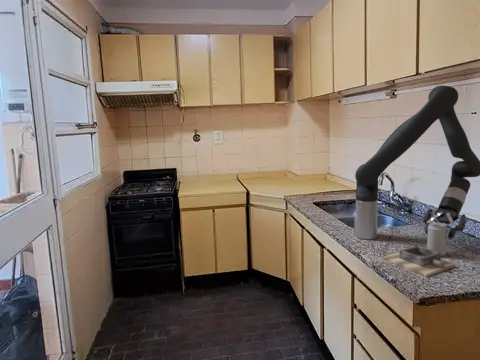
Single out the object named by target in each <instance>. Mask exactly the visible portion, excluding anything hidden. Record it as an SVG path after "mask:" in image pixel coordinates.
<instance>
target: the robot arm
mask: <svg viewBox="0 0 480 360" xmlns="http://www.w3.org/2000/svg"><path fill="white" fill-rule="evenodd" d="M427 100H428V101H427V102H426V103H425V104H424V105H423V107H422V108H421V109H419V111H417V113H415V114H413V115H412V116H411V117H409V118H408V119H406V120H405V121H403V123H401V124H400V125H399V126H398V127H396V129H394V131H393V132H392V133H391V134H390V135H389V136H388V137H387V138H386V140H385V141H384V142H383V143H382V145H381V146H380V148H379V149H378V151H376V153H375V154H374V155H373V156H372V157H371V158H369V159H368V160H367V161H366V162H365V163H362V164H361V165H359V167H358V168H357V169H356V171H355V174H354V177H355V180H356V187H355V188H356V191H355V214H354V216H353V218H354V221H353V222H354V223H353V224H354V225H353V226H354V231H353V232H354V236H355V237H356V238H357V239H361V240H375V239H377V238H378V221H379V220H378V213H379V212H378V208H379V207H378V206H379V205H378V203H379V202H378V201H379V177H380V176H381V175H382V174H383V173H384V172H385V170H387V168H388V167H389V166H390V165H391V164H392V163H393V162H394V161H395V162H396V160H397V159H398V158H400V157H401V156H402V155H403V154H405V153H406V151H408V150H409V149H410V148H411V147H412V146H413V145H414V144H416V142H417V141H418V140H419V139H420V138H421V137H422V136H423V135H424V134H425V133H426V131H427V130H429V128H430V127H431V126H432V125H433V124H434V123H435V122H436V121H437V120H439V123H440V124H441V127H442V130H443V134H444V136H445V140H446V143H447V145H448V148H449V151H450V154H451V156H452V157H453V158H456V159H461V160H459V161H456V162H454V164H453V165H452V167H451V174H450V175H451V176H450V182H449V184H448V187H447V189H446V190H445V191H444V194H443V196H442V198H441V201H440V202H439V204H438V207H437V209H436V210H432V209H431V208H428V210H426V211H427V212H425V215H424V217H423V218H422V221H423V223H424V224H425V227H424V229H423V230H424V233H425V235H428V226H429V223H434V222H436V223H443V224H445V225H451V227H452V228H451V227H450V230H449V231H448V233H447V238H448V239H449V240H452V239H454V237H455V236H456V234H457V232H459V231H460V232H463V231H464V229H465V226H466V223H467V220H468V218H467V216H466V214H460V213H461V211H462V208H463V206H464V204H465V201H466V198H467V195H468V193H469V191H470V188H471V182H470V181H469V179H467V178H478V177H479V176H480V159H479V157H477V155H476V154H475V152H474V151H473V150H472V148H471V145H470V141H469V139H468V136H467V134H466V131H465V130H464V127H463V126H462V125H461V123H460V121H459V119H458V116H457V113H456V111H455V106H456V104H457V102H458V100H459V91H458V90H457V89H456V88H455V87H453V86H450V85H438V86H436V87H433V89H431V90H430V91H429V93H428V99H427ZM457 220H459V222H458V225H456V223H455V221H457Z"/></svg>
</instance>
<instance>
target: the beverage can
mask: <svg viewBox="0 0 480 360" xmlns="http://www.w3.org/2000/svg"><path fill="white" fill-rule="evenodd" d="M447 238H448V228H447V224H445V223H440V222H439V223H436V222H434V223H429V226H428V234H427V242H426V244H427V246H426V249H429V250H432V251H435V252H438V253H441V257H443V256H446V254H447Z"/></svg>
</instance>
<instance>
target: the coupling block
mask: <svg viewBox="0 0 480 360" xmlns="http://www.w3.org/2000/svg"><path fill="white" fill-rule="evenodd" d="M382 260H384V261H386V262H390V263H392V264H395V265H396V266H399V267H402V268H404V269H407V270H409V271H411V272H414V273H416V274H419V275H422V276H424V277H429V276H432V275H434V274H438V273H441V272H444V271H447V270H450V269H453V268H455V267H456V264H455V263H453V262H450V261H447V260H444V259H442V256H441V253H438V252H435V251H432V250H429V249H427V247H422V246H420V245H416V246H415V245H414V246H411V247H409V248H403V247H398V248H397V252H395V253H392V254H388V255H385V256H383V259H382Z"/></svg>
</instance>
